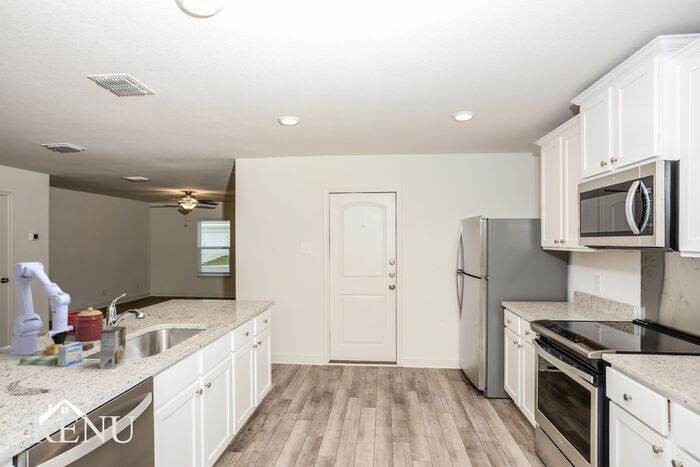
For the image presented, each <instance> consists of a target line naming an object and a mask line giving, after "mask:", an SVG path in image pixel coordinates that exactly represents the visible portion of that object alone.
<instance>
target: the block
mask: <svg viewBox="0 0 700 467" xmlns="http://www.w3.org/2000/svg"><path fill="white" fill-rule="evenodd" d="M59 346H63V344H55V343H52V344H49V345H46V346H45V347H44V350H45V354H57V353H58V347H59Z"/></svg>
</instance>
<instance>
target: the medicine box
mask: <svg viewBox="0 0 700 467" xmlns="http://www.w3.org/2000/svg"><path fill="white" fill-rule="evenodd" d="M69 343H70V344H66V345H63V346H59V347H58V364H57V366H58V367H69V366H72V365H75V364H78V363H81V362H83V351H82V343H83V342H78V341H73V342H69Z"/></svg>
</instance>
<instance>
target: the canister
mask: <svg viewBox="0 0 700 467" xmlns="http://www.w3.org/2000/svg"><path fill="white" fill-rule="evenodd" d="M81 311H82V312H81V313H79V314H78V317H77V318H76V319H75V320H76V321H77V323H76V325H75V326H76V335H74V339H75V342H82V343H88V342H94V341H98V340H101V331H103V330H104V323H105V321H104V315H103V311H100V310H99V309H94V308H93V307H92V306H90V307H88V308H87V310H84V311H83V310H81Z"/></svg>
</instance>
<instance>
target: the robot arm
mask: <svg viewBox="0 0 700 467" xmlns="http://www.w3.org/2000/svg"><path fill="white" fill-rule="evenodd" d="M12 274H13V281H15V282H14V283H15V289H16V298H17V306H18V312H19V315H18V316H17V317H16V318H15V319H14V320H13V327H12V331H13V333H14V334H15V335H13V336H12V338H11V341H10V353H8V354H9V355H11V356H12V355H13V356H14V355H16V356H17V355H18V356H20V355H23V356H25V355H26V356H30V355H33V354H36V353H37V352H40V351H43V348H38V334H39V333H40V331H41V330H42V328H43V325H44V324H43V322H42V320H41V316H40V315H39V314H37V313H35V310H34V303H33V302H34V301H33V296H32V288H31V281H32V280H33V279H35V280H36V281H37V283H39V285H41V286H42V292H43V293H44V294H45V296H46V297H47V298H48V299H49V301H48V303H49V306H50V308H51V309H50V310H51V312H52V322H51V323H52V324H51V327H52V328H51V329H50V330H49V331H48V332H46V333H45V338H50V339H52V341H53V344H63V345H64V343H66V342H65V341H66V340H67V338H68V336H70V335H69V332H66V331H69V330H73V326H67V324H68V322H69V321H68V313H69V305H70V304H71V302H72V297H71V295H70V293H66V292H63V291H62V289H61V288H60V287H59V286H58V285H57V283H55V282H52V281H51V280H50V279H49V277H48V276H47V274H46V273H45V266H44V265H43V264H42V262H41V261H30V262H29V261H28V262H25V261H24V262H21V261H20V262H16V263H15V264H14V266H12Z"/></svg>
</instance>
